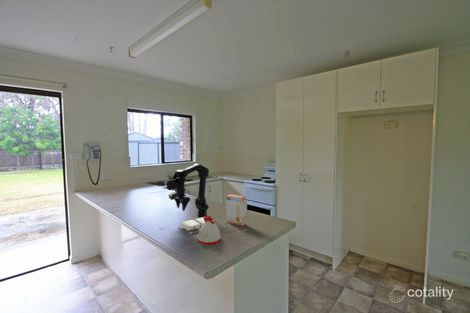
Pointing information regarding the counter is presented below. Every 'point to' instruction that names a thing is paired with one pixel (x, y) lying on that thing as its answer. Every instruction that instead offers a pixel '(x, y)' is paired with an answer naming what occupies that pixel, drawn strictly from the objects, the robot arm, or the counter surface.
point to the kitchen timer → (209, 232)
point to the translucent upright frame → (236, 209)
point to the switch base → (189, 230)
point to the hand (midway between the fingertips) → (180, 209)
